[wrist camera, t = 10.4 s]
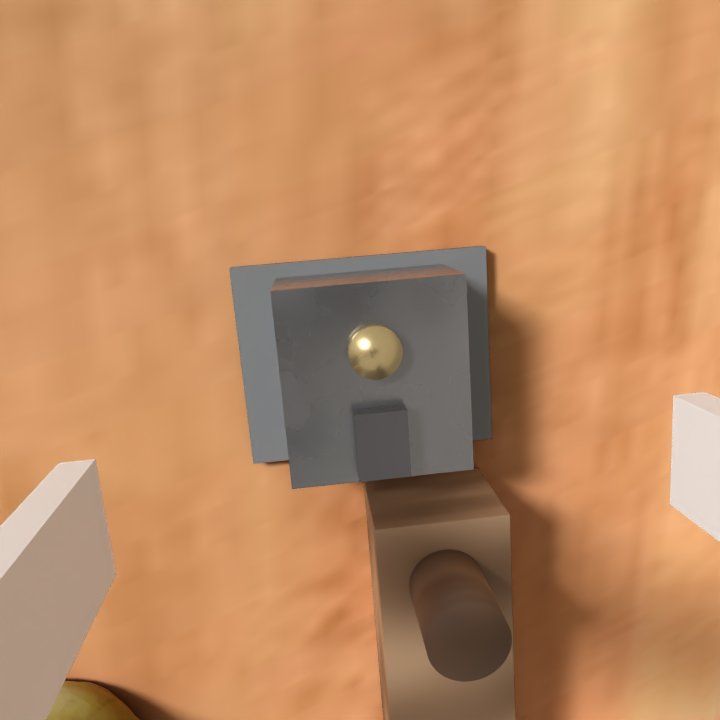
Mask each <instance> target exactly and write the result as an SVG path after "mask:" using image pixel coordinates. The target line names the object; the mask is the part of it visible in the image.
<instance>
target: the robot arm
mask: <svg viewBox="0 0 720 720" xmlns="http://www.w3.org/2000/svg"><path fill="white" fill-rule="evenodd" d="M670 505H672V506H673V507H674V508H676V509H677V510H678V511H679V512H681V513H682V514H683V515H685V516H686V517H687V518H689V519H690V520H691V521H693V522H694V523H695V524H697V525H698V526H699V527H701V528H702V529H703V530H704V531H706V532H707V533H708V534H710V535H711V536H712V537H714V538H715V539H716V540H718V541H719V542H720V398H718V397H715V396H713V395H711V394H708V393H706V392H699V393H690V394H681V395H673V424H672V455H671V487H670ZM115 575H116V570H115V564H114V559H113V553H112V548H111V542H110V536H109V531H108V525H107V520H106V514H105V509H104V503H103V498H102V492H101V487H100V481H99V476H98V470H97V465H96V459H90V460H81V461H72V462H63V463H58V464H57V465H56V467H55V468H54V469H53V470H52V471H51V472H50V473H49V474H48V475H47V476H46V477H45V478H44V480H43V481H42V482H41V483H40V484H39V485H38V486H37V487H36V488H35V489H34V490H33V491H32V493H31V494H30V495H29V496H28V497H27V498H26V499H25V500H24V501H23V502H22V503H21V504H20V505H19V507H18V508H17V509H16V510H15V511H14V512H13V513H12V514H11V515H10V516H9V517H8V518H7V520H6V521H5V522H4V523H3V524H2V525H1V526H0V720H46V719H47V717H48V715H49V713H50V711H51V708H52V706H53V704H54V702H55V700H56V698H57V696H58V694H59V692H60V690H61V688H62V686H63V683H64V681H65V679H66V677H67V675H68V673H69V671H70V669H71V667H72V665H73V663H74V661H75V658H76V656H77V654H78V652H79V650H80V648H81V646H82V644H83V642H84V640H85V638H86V636H87V633H88V631H89V629H90V627H91V625H92V623H93V621H94V619H95V617H96V615H97V613H98V611H99V608H100V606H101V604H102V602H103V600H104V598H105V596H106V594H107V592H108V590H109V588H110V586H111V583H112V581H113V579H114V577H115Z"/></svg>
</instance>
